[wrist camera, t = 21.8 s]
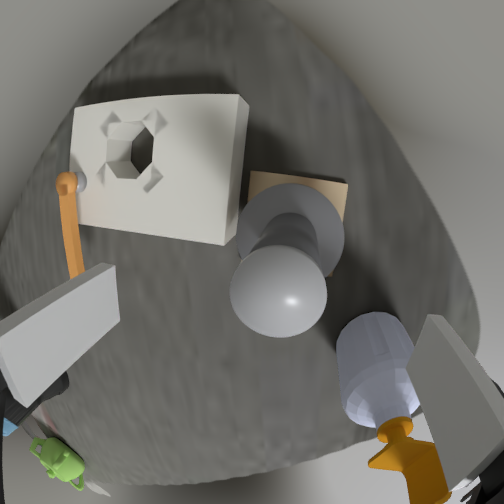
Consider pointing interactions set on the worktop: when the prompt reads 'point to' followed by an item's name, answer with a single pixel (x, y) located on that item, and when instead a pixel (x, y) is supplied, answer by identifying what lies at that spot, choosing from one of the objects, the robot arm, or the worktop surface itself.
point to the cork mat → (327, 188)
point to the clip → (70, 221)
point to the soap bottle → (388, 401)
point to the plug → (285, 259)
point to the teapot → (59, 460)
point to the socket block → (162, 165)
